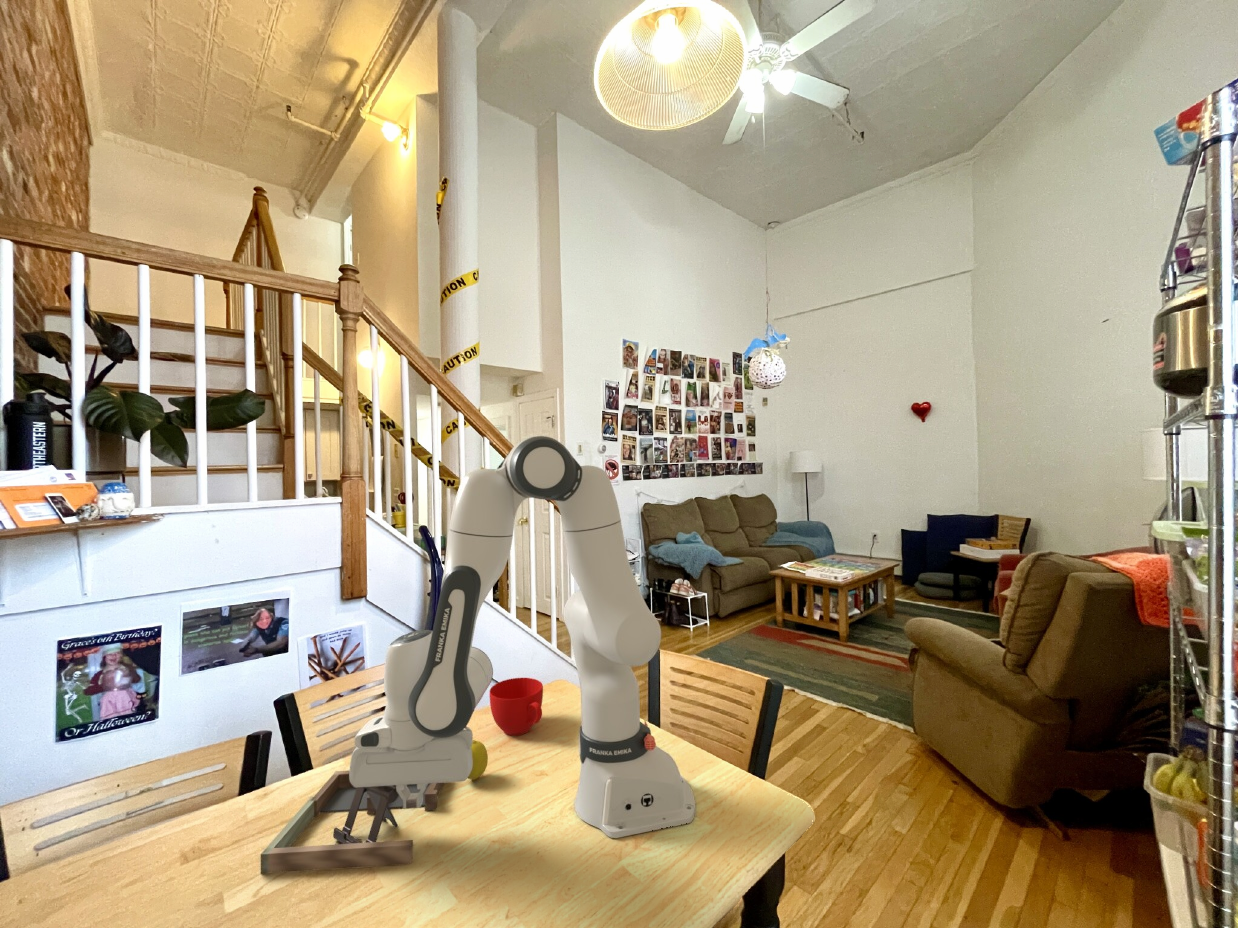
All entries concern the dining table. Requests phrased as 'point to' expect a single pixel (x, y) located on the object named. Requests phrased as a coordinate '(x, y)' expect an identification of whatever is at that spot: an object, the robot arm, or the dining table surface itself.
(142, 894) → the dining table surface
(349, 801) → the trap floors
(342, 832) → the portable electronic device stand
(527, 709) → the ceramic cup
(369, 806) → the channel
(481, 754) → the lemon
